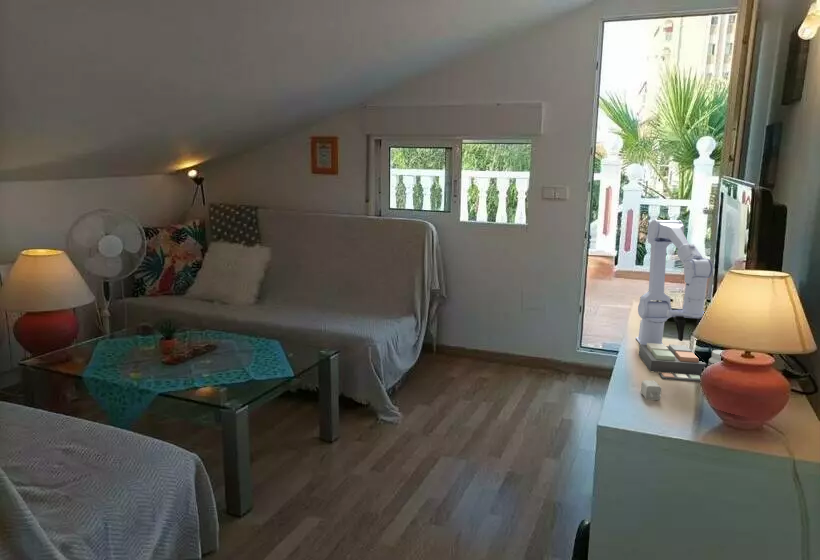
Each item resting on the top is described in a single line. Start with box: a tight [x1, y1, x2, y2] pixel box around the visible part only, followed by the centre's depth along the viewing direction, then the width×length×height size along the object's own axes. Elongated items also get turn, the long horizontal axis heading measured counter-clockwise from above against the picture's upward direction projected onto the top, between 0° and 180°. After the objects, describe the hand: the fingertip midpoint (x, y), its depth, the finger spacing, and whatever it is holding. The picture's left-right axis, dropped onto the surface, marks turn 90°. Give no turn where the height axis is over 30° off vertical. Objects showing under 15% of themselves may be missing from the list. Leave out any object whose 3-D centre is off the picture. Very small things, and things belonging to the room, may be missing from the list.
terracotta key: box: [675, 351, 699, 362], centre depth 192 cm, size 5×5×3 cm
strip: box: [658, 372, 701, 383], centre depth 185 cm, size 12×4×1 cm, turn 83°
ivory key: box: [647, 343, 669, 352], centre depth 199 cm, size 5×5×3 cm
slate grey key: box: [668, 343, 692, 354], centre depth 199 cm, size 5×5×3 cm
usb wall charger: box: [640, 379, 662, 401], centre depth 168 cm, size 4×7×4 cm, turn 177°
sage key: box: [652, 350, 675, 361], centre depth 193 cm, size 5×5×3 cm
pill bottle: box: [707, 349, 724, 366], centre depth 180 cm, size 6×6×10 cm
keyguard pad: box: [638, 343, 707, 375], centre depth 196 cm, size 16×16×4 cm
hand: (688, 340), depth 190 cm, fingers open, 4 cm apart
